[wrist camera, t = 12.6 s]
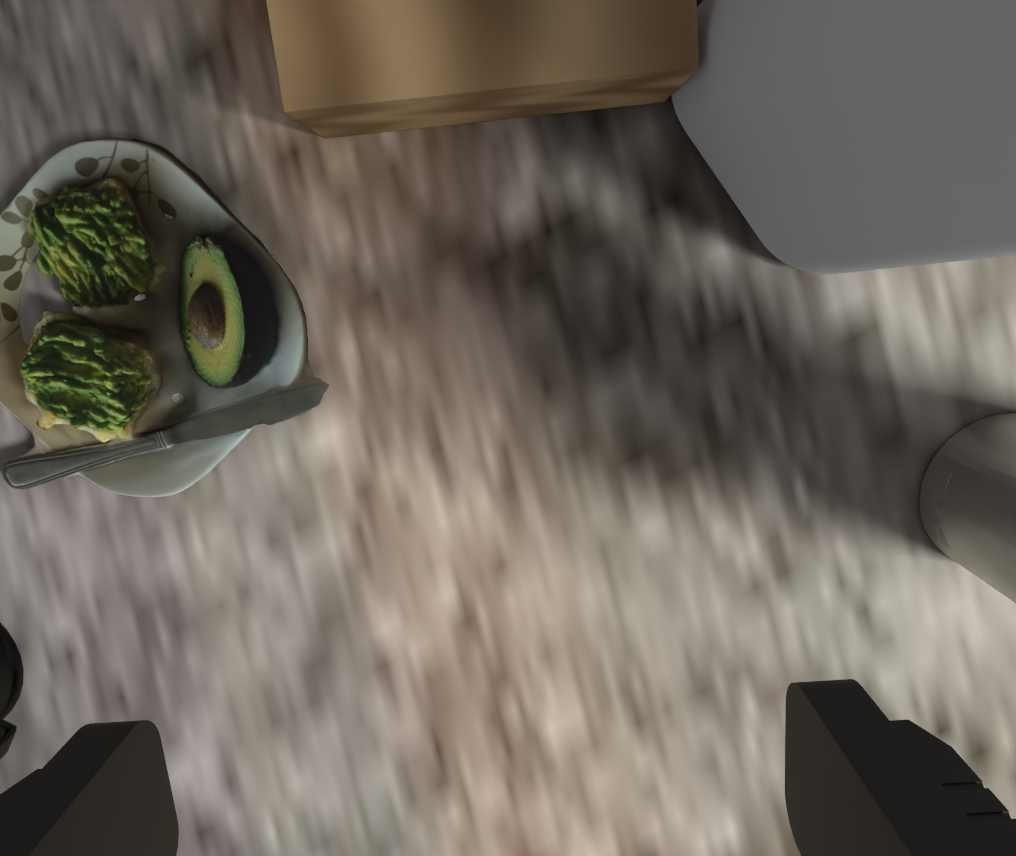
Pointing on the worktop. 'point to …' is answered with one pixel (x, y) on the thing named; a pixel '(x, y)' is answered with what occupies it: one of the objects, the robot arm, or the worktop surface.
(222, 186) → the worktop surface
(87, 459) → the salad plate
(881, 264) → the plastic bottle
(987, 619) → the worktop surface
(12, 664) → the french press
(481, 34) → the slot block
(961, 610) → the worktop surface
